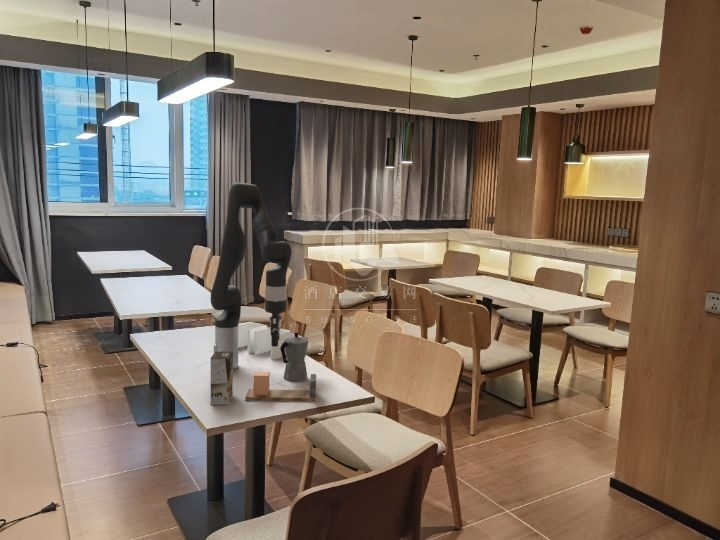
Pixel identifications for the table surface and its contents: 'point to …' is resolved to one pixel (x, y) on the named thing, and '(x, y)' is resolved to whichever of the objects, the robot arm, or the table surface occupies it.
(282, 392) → the rail
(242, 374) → the table surface
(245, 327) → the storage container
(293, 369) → the coffeepot
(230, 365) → the coffee box
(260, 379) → the tan tall block
